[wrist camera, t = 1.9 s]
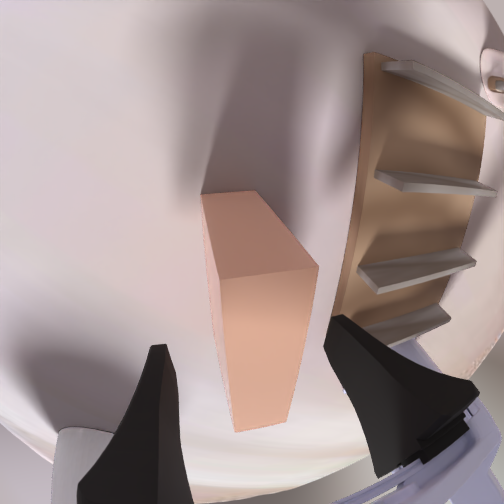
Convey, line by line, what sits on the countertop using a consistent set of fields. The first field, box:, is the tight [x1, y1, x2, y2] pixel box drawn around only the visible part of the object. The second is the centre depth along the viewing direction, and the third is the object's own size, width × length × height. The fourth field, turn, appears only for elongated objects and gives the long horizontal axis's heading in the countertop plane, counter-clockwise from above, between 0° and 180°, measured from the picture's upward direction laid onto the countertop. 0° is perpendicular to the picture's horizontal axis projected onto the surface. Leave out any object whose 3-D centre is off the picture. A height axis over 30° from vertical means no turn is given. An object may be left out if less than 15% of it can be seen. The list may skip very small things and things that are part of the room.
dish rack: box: [326, 52, 504, 348], centre depth 16 cm, size 20×13×4 cm, turn 179°
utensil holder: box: [51, 427, 114, 504], centre depth 18 cm, size 15×15×18 cm
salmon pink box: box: [201, 190, 319, 432], centre depth 13 cm, size 10×3×8 cm, turn 179°
